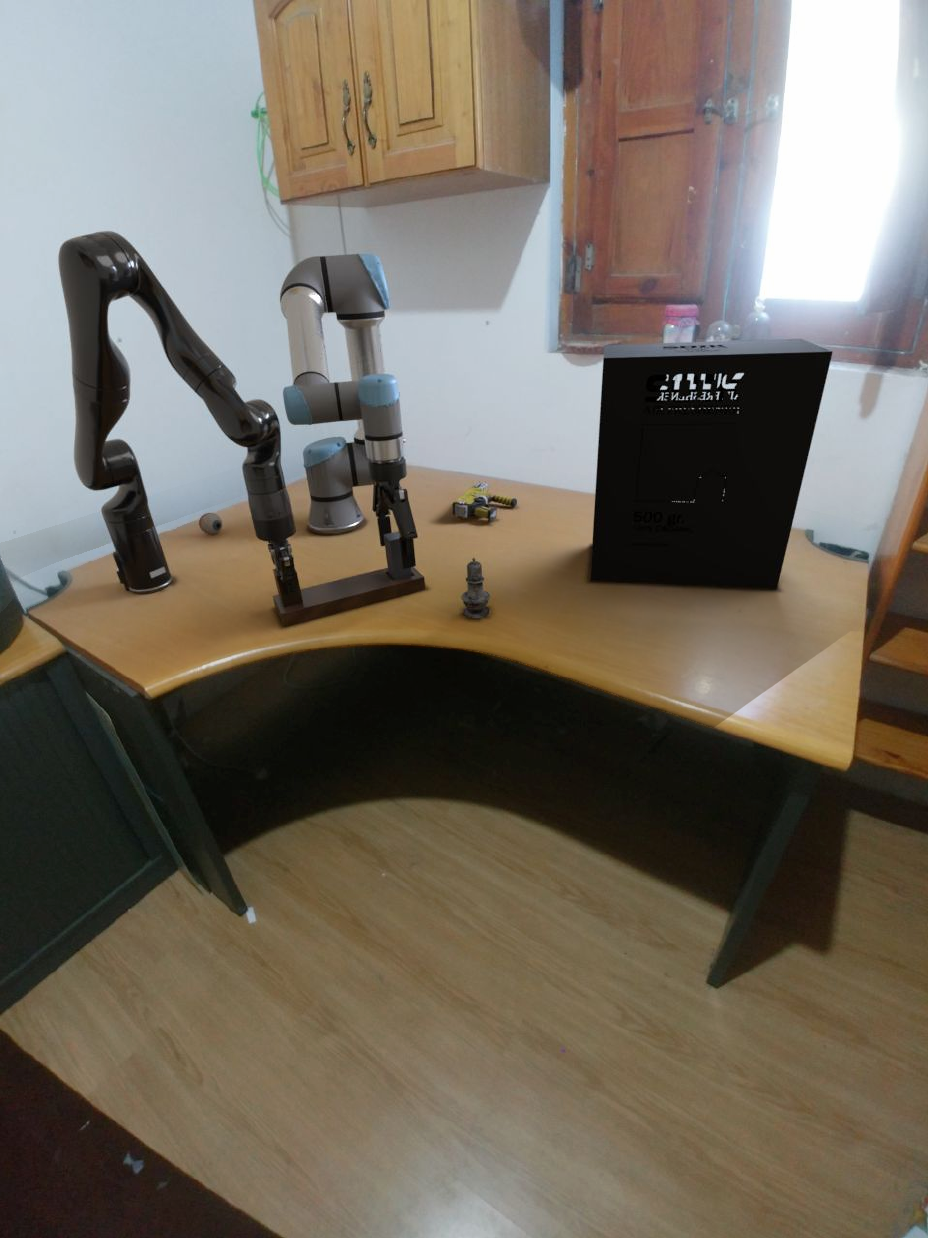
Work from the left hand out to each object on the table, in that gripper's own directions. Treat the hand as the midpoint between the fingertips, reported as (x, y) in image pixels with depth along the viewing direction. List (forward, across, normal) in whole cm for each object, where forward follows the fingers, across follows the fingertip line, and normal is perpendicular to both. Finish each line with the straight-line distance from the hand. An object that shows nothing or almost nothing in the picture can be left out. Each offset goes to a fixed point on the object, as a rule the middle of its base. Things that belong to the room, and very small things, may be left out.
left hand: (289, 591), depth 123 cm
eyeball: (+5, +58, +10) cm, 59 cm away
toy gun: (+5, +33, -64) cm, 72 cm away
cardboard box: (+5, -24, -81) cm, 85 cm away
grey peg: (+5, 0, -24) cm, 25 cm away
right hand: (-2, 0, -24) cm, 24 cm away
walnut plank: (+5, 0, -12) cm, 13 cm away
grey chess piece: (+5, -20, -33) cm, 39 cm away
